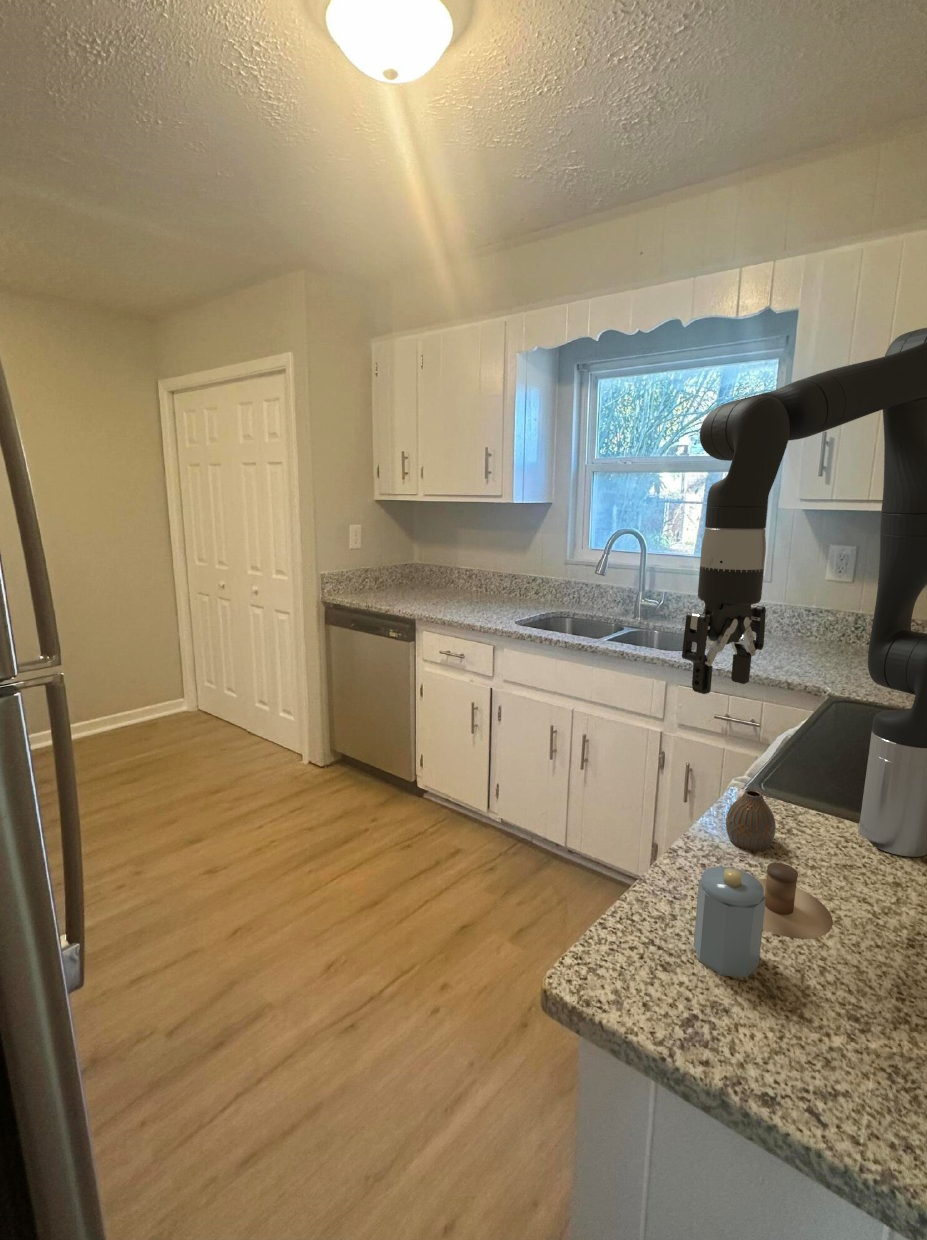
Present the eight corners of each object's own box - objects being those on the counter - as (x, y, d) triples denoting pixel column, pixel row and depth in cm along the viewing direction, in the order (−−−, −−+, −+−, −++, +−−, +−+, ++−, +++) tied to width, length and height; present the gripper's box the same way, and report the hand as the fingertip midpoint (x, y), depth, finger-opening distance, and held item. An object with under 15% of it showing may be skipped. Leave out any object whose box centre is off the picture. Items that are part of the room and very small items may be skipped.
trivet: (806, 887, 85) (807, 881, 85) (850, 948, 74) (851, 942, 73) (716, 881, 87) (716, 875, 86) (745, 940, 75) (745, 934, 75)
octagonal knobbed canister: (744, 944, 74) (753, 859, 72) (764, 985, 68) (774, 892, 66) (689, 940, 75) (695, 855, 73) (703, 980, 69) (711, 888, 67)
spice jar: (787, 898, 81) (791, 863, 81) (798, 916, 78) (802, 879, 77) (759, 896, 82) (763, 861, 81) (769, 914, 78) (773, 877, 78)
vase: (767, 864, 91) (773, 808, 89) (718, 848, 95) (723, 795, 93) (777, 844, 96) (783, 791, 95) (730, 830, 100) (735, 779, 99)
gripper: (725, 570, 72) (713, 704, 75) (790, 564, 80) (778, 685, 83) (670, 564, 78) (662, 689, 81) (737, 559, 86) (727, 673, 89)
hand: (721, 687), depth 82 cm, fingers open, 8 cm apart
